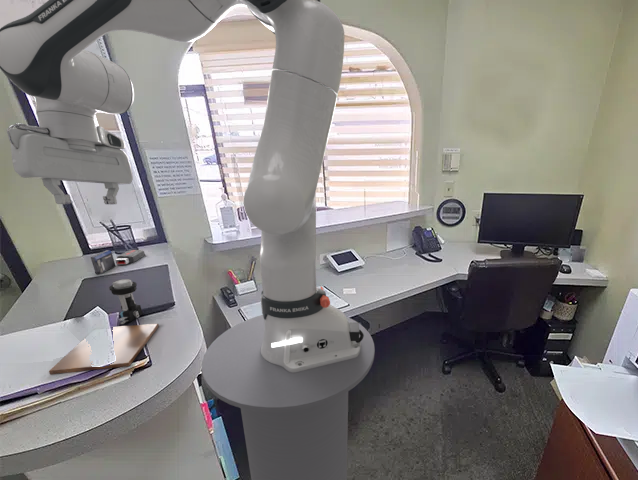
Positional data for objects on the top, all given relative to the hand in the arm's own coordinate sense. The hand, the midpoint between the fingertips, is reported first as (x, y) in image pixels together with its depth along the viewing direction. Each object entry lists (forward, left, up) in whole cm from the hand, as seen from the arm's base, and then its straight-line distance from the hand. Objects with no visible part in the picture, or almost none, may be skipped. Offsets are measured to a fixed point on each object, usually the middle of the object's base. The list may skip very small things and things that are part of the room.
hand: (89, 204), depth 65 cm
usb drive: (+20, -54, -29) cm, 64 cm away
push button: (0, -3, -29) cm, 29 cm away
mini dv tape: (+23, -43, -29) cm, 57 cm away
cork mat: (-2, +10, -29) cm, 31 cm away
